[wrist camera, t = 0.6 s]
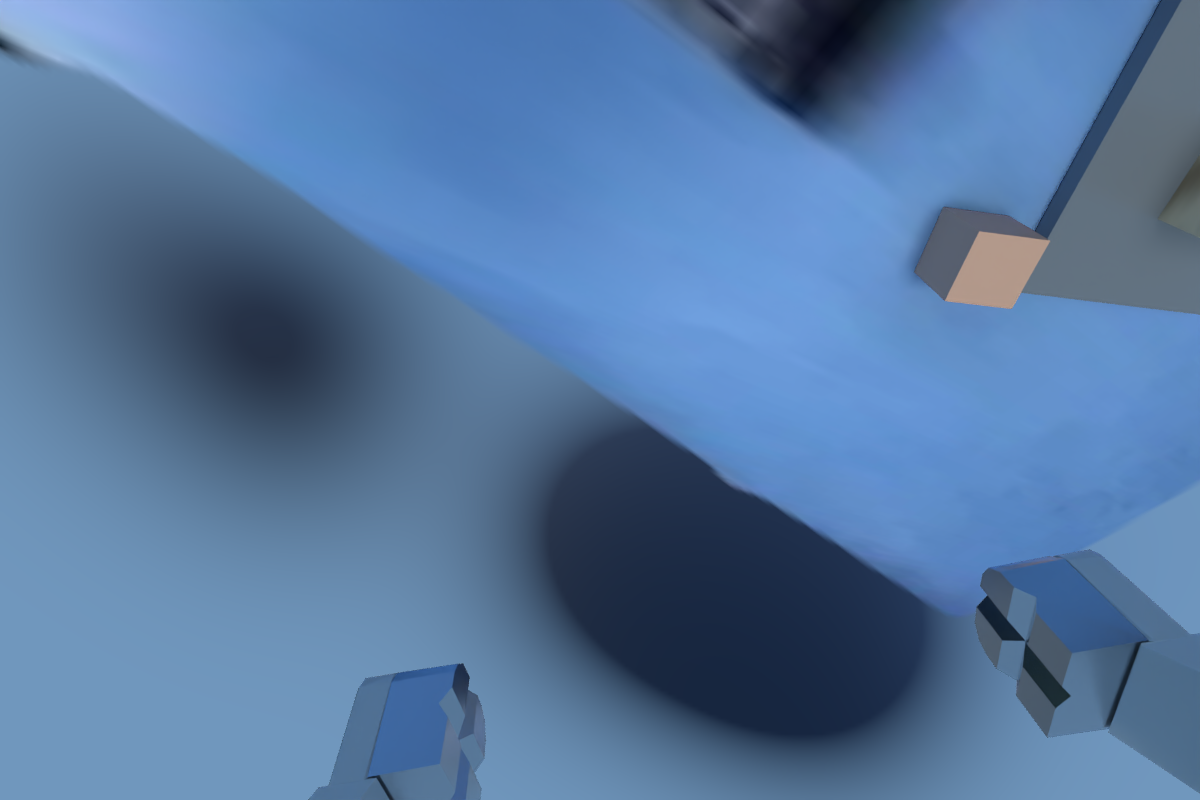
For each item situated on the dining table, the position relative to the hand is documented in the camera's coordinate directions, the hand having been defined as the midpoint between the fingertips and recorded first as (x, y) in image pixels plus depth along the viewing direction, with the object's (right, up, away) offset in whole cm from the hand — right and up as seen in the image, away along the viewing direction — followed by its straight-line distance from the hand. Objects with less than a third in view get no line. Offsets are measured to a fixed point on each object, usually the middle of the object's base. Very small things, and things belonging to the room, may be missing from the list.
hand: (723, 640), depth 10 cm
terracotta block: (+25, +15, +37) cm, 47 cm away
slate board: (+38, +20, +34) cm, 55 cm away
